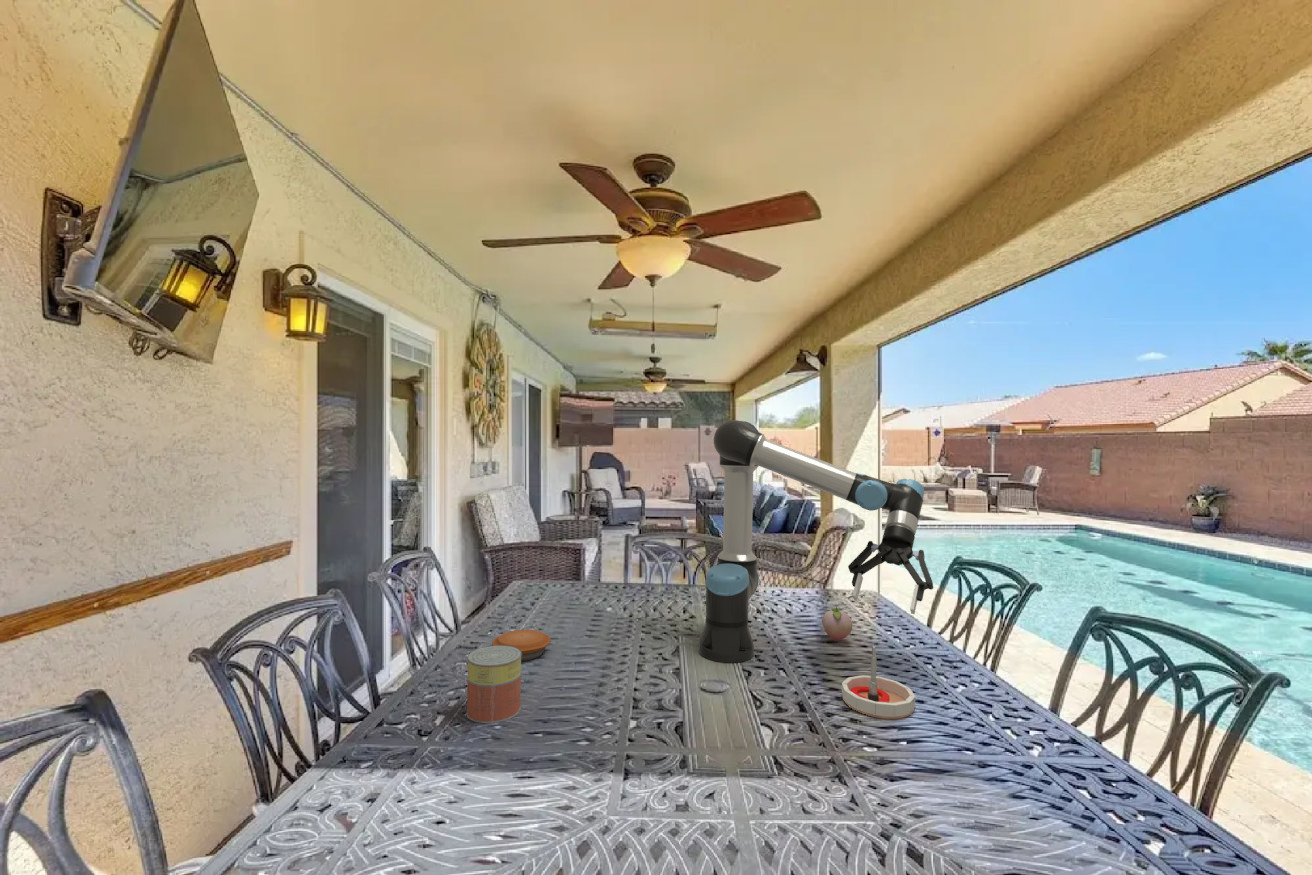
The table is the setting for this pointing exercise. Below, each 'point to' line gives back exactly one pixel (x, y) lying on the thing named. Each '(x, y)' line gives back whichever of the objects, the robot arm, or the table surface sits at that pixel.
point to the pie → (524, 642)
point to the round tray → (898, 703)
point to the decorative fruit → (837, 624)
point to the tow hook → (872, 684)
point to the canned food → (493, 684)
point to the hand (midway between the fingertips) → (882, 604)
